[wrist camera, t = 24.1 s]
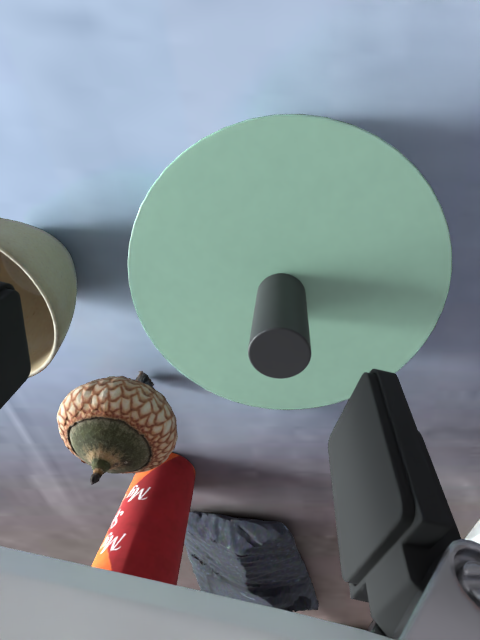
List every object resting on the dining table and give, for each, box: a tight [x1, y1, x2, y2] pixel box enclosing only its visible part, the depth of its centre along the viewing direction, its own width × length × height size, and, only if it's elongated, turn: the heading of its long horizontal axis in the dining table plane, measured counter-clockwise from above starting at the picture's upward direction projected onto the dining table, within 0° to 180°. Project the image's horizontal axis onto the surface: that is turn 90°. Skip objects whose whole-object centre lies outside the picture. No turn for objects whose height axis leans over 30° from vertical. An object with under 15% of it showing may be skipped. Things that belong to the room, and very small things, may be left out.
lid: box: [128, 114, 452, 410], centre depth 16 cm, size 16×16×6 cm
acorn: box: [57, 371, 178, 485], centre depth 26 cm, size 8×8×10 cm
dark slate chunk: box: [184, 511, 319, 612], centre depth 42 cm, size 15×22×5 cm
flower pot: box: [0, 218, 77, 378], centre depth 23 cm, size 10×10×7 cm
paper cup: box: [92, 452, 195, 585], centre depth 31 cm, size 8×8×14 cm
